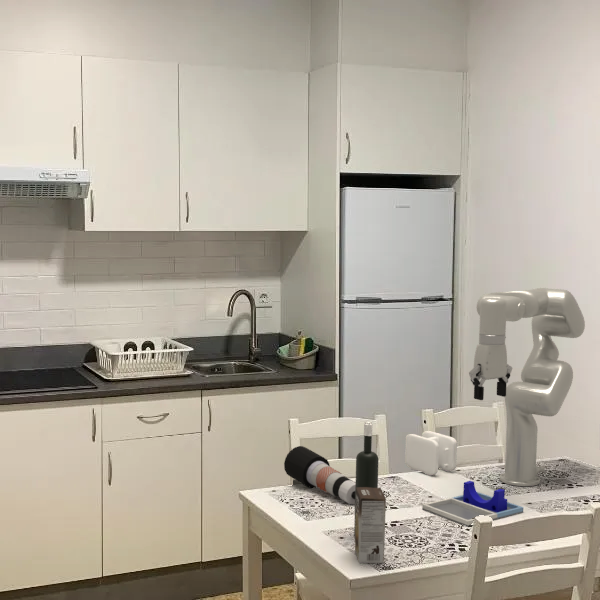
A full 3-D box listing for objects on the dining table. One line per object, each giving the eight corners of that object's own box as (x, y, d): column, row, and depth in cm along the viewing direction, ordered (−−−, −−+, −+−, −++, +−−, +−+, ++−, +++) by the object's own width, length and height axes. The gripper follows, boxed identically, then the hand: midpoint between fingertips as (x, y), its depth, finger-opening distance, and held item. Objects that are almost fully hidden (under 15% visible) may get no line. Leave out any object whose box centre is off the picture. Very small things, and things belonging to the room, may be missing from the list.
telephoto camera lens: (357, 525, 271) (347, 497, 267) (290, 483, 298) (279, 458, 294) (383, 504, 275) (374, 477, 271) (314, 465, 303) (305, 439, 298)
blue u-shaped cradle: (506, 509, 272) (507, 488, 271) (497, 512, 269) (498, 491, 268) (472, 499, 281) (473, 479, 280) (463, 502, 278) (463, 482, 277)
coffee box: (353, 549, 238) (355, 486, 237) (379, 549, 239) (381, 486, 237) (357, 563, 229) (359, 497, 228) (384, 563, 230) (386, 497, 228)
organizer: (402, 467, 316) (403, 432, 315) (425, 462, 323) (426, 428, 322) (434, 478, 304) (435, 442, 303) (457, 473, 311) (459, 437, 310)
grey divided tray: (477, 496, 285) (477, 491, 285) (523, 512, 271) (523, 507, 271) (422, 509, 272) (422, 504, 272) (467, 526, 258) (467, 521, 258)
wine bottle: (360, 540, 245) (363, 425, 242) (350, 533, 251) (353, 420, 248) (380, 537, 248) (383, 423, 245) (369, 530, 253) (372, 419, 250)
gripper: (502, 336, 288) (500, 392, 290) (461, 340, 278) (460, 398, 280) (521, 339, 282) (519, 396, 284) (481, 343, 272) (479, 403, 274)
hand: (490, 397), depth 282 cm, fingers open, 9 cm apart
